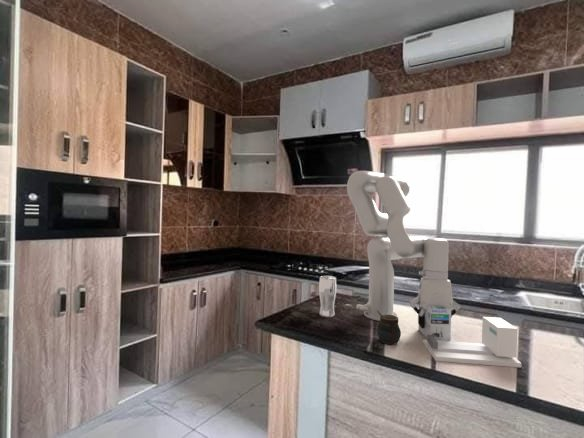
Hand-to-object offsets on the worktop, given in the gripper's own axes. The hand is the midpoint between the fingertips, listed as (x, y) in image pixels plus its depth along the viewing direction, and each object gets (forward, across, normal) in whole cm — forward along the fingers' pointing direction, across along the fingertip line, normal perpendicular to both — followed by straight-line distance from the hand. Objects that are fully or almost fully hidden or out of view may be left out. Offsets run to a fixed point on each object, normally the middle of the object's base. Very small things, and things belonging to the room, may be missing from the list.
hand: (433, 327), depth 106 cm
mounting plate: (+3, +6, -13) cm, 15 cm away
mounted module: (+1, +14, -13) cm, 19 cm away
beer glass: (+3, -36, +15) cm, 39 cm away
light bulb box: (+3, 0, 0) cm, 3 cm away
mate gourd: (+3, -16, -8) cm, 18 cm away
